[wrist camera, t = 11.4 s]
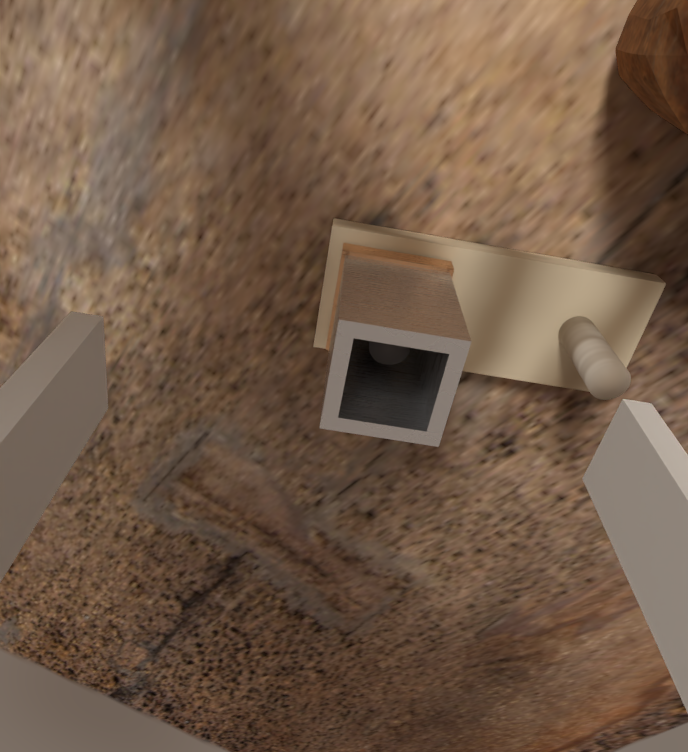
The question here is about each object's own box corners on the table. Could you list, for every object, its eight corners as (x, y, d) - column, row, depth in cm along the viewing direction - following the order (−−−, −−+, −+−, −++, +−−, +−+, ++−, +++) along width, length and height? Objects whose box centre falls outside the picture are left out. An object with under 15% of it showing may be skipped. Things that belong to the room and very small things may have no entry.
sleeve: (327, 337, 38) (314, 430, 30) (343, 241, 35) (335, 314, 26) (425, 354, 39) (441, 450, 30) (451, 260, 35) (477, 338, 27)
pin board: (315, 336, 40) (304, 397, 34) (333, 218, 36) (325, 262, 29) (605, 383, 41) (649, 452, 35) (655, 274, 37) (716, 328, 30)
